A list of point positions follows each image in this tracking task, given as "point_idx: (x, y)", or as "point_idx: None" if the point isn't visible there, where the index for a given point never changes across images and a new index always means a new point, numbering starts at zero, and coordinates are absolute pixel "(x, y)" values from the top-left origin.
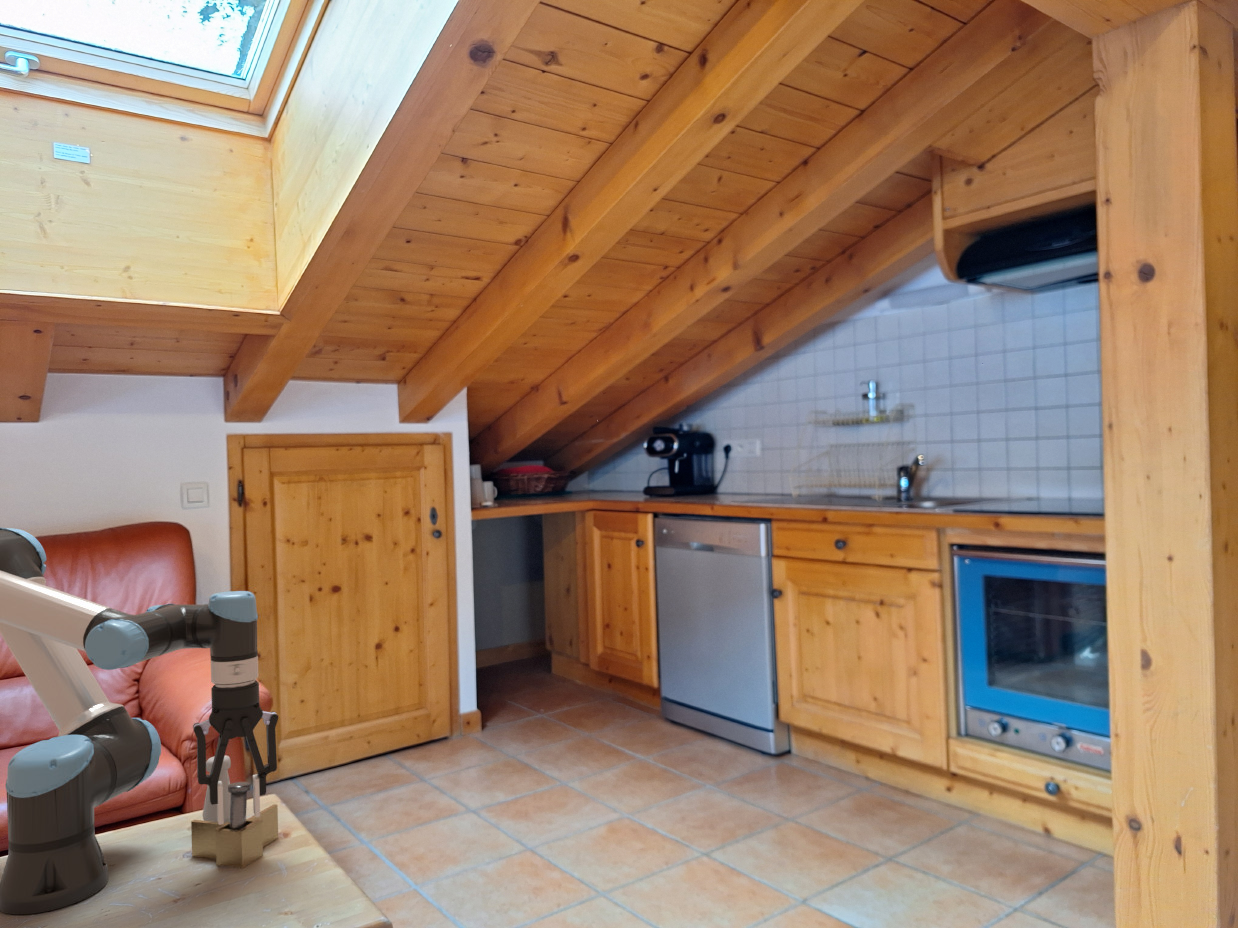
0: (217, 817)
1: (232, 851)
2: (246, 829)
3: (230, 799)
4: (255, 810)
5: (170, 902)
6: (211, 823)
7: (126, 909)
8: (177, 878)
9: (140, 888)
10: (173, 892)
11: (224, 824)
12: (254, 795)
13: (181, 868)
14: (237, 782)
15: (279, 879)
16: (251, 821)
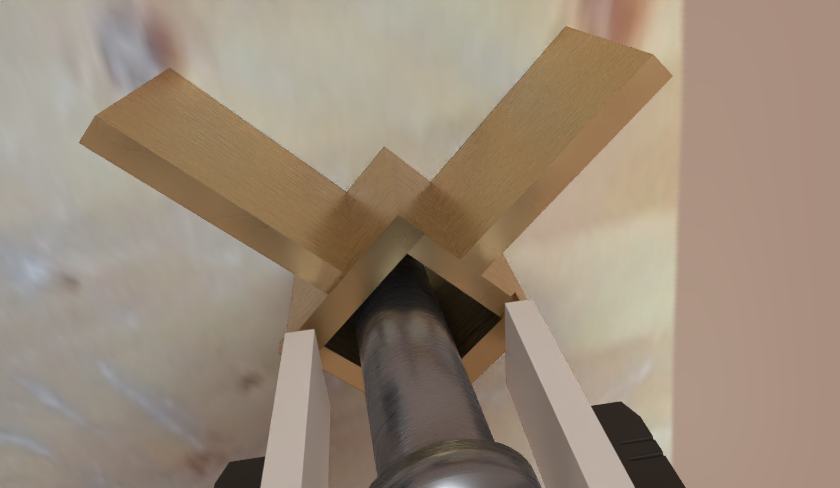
0: (284, 346)
1: None
2: None
3: (375, 461)
4: (517, 408)
5: (181, 470)
6: (241, 241)
7: (36, 472)
8: (153, 310)
9: (17, 344)
10: (171, 412)
11: (328, 309)
12: (545, 466)
13: (141, 219)
14: (446, 482)
15: (516, 435)
16: (478, 299)
